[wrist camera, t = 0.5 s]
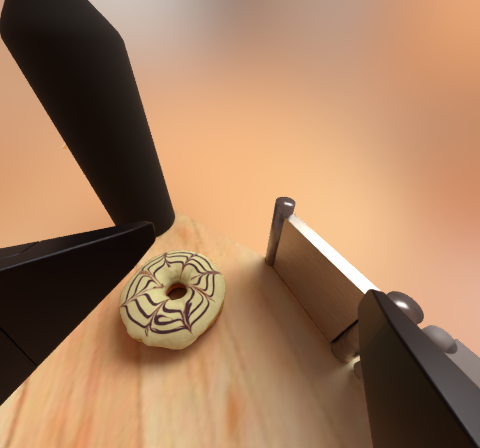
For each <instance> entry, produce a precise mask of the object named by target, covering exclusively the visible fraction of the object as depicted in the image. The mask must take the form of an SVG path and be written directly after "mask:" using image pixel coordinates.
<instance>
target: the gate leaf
mask: <svg viewBox="0 0 480 448" xmlns="http://www.w3.org/2000/svg"><path fill="white" fill-rule="evenodd" d="M421 330H422V331H423V332H424V333H425V334H426V335H427V336H428V337H429V338H430V339H431V340H432V341H433V342H434V343H435V344H436V345H437V346H438V347H439V348H440V349H441V350H442V351H443V352H444V353H445V354H446V355H447V356H448V357H449V358H450V359H451V360H452V361H453V362H454V363H455V364H456V365H457V366H458V367H459V368H460V369H461V370H462V371H463V372H464V373H465V374H466V375H467V376H468V377H469V378H470V379H471V380H472V381H473V382H474V383H475V384H476V385H477V386H478V387H479V388H480V358H479V357H478V356H477V355H475V354H474V353H473V352H472V351H470V350H469V349H468V348H467V347H466V346H465V345H464V344H462V343H461V342H460V341H459V340H458V339H455V340H454V339H453V338H452V337H451V336H450V335H449V334H448V333H447V332H446V331H445V330H443V329H441V328H439V327H437V326H432V325H430V326H427V327H426V328H423V329H421ZM353 368H354V372H355V374H356V376H357V377H358V378H359V379H360V380H361V381H362V382H363V376H362V370H361V363H360V361H358V362H356V363H355V364H354V367H353Z"/></svg>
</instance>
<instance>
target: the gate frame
mask: <svg viewBox="0 0 480 448" xmlns="http://www.w3.org/2000/svg"><path fill="white" fill-rule="evenodd" d="M294 207H295V201H294V200H292V199H291V198H288V197H280V198H277V199H276V203H275V208H274V214H273V219H272V225H271V231H270V236H269V242H268V248H267V253H266V259H265V260H266V263H267V264H268V265H270V266H273V268H274V269H275V270H276V272H277V273H278V274H279V276H280V277H281V278H282V280H283V281H284V282H285V284H286V285H287V286H288V288H289V289H290V290H291V292H292V293H293V294H294V296H295V297H296V298H297V300H298V301H299V302H300V304H301V305H302V306H303V308H304V309H305V310H306V312H307V313H308V314H309V316H310V317H311V318H312V320H313V321H314V322H315V324H316V325H317V326H318V328H319V329H320V330H321V332H322V333H323V334H324V336H325V337H326V338H327V340H328V341H329V342H331V341H332V343H331V349H332V352H333V354H334V355H335V356H336V357H337V358H338V359H339V360H341V361H343V362H349V361H351V360H353V359H355V358H356V357H358V356H360V355H359V336H358V305H359V303H360V301H361V299H362V298H363V296H364V295H365V293H366V292H367V290H369V289H375V290H378V291H380V290H379V289H377V288H376V287H375V286H374V285H373V284H372V283H371V282H370V281H369V280H367V279H366V278H365V277H364V276H363V275H362V274H360V273H359V272H358V271H357V270H356V269H355V268H354V267H353V266H352V265H351V264H350V263H348V262H347V261H346V260H345V259H344V258H343V257H342V256H341V255H340V254H338V253H337V252H336V251H335V250H334V249H333V248H332V247H331V246H330V245H328V244H327V243H326V242H325V241H324V240H323V239H322V238H321V237H320V236H318V235H317V234H316V233H315V232H314V231H313V230H312V229H311V228H309V227H308V226H307V225H306V224H305V223H304V222H303V221H302V220H301V219H299V218H298V217H297V216H296V215H295V214H293V211H294ZM387 296H388V297H389V298H390V299H391V300H392V301H393V302H394V303H395V304H396V305H397V306H398V307H399V308H400V309H401V310H402V311H403V312H404V313H405V314H406V315H407V316H408V317H409V318H410V319H411V320H412V321H413V322H414V323H415V324H416V325H417V324H419V323H421V322H422V321H423V318H424V314H423V311H422V309H421V308H420V306H419V305H418V304H417V303H416V302H415V301H414V300H413V299H412V298H410V297H409V296H408V295H406V294H404V293H401V292H396V291H394V292H389V293H388V294H387Z"/></svg>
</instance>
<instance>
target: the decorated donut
mask: <svg viewBox="0 0 480 448" xmlns="http://www.w3.org/2000/svg"><path fill="white" fill-rule="evenodd" d="M178 287H179V288H186V290H187V293H186V295H185V296H184V297H182V298H180V299H176V300H171V299H170V298H169V297H167V295H168V293H169V292H170V291H172V290H173V289H175V288H178ZM224 295H225V278H224V276H223V274H222V273H221V271H220V269H219V268H218V267H217V266H216V265H215V263H213V262H212V261H211V260H210V259H208V258H207V257H206V256H204V255H202V254H200V253H197V252H193V251H185V250H176V251H171V252H167V253H163V254H161V255H159V256H156V257H154V258H152V259H150V260H149V261H148V262H146V263H145V264H144V265H142V266H141V267H140V268H139V270H138V271H137V272H136V273H135V274H134V276H133V277H132V278H131V279H130V281H129V282H128V283H127V285H126V286H125V288H124V290H123V291H122V293H121V296H120V307H119V310H120V315H121V318H122V321H123V323H124V324H125V326H126V329H127V333H128V334H129V335H130V336H131V337H132V338H134V339H135V340H136V341H138V342H143V343H145V345H147V346H155V347H165V348H169V349H183V348H186V347H188V346H189V345H191V344H192V343H193V342H194V341H195V340H196V339H197V338H198V337H199V336H201V335H202V334H203V333H204V332H205V331H206V330H207V329H208V328H210V327H211V326H212V324H213V323H214V322H215V321H216V320H217V318H218V317H219V315H220V314H221V310H222V307H223V303H224Z"/></svg>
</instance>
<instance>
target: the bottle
mask: <svg viewBox="0 0 480 448" xmlns="http://www.w3.org/2000/svg"><path fill="white" fill-rule="evenodd" d="M0 34H1V38H2V40H3V41H4V43H5V45H6V46H7V48H8V50H9V51H10V53H11V55H12V56H13V58H14V59H15V61H16V63H17V64H18V66H19V68H20V69H21V71H22V73H23V74H24V76H25V78H26V79H27V81H28V82H29V84H30V86H31V87H32V89H33V91H34V92H35V94H36V95H37V97H38V99H39V100H40V102H41V104H42V105H43V107H44V109H45V110H46V112H47V114H48V115H49V117H50V118H51V120H52V122H53V123H54V125H55V127H56V128H57V130H58V132H59V133H60V135H61V136H62V138H63V140H64V141H65V143H66V145H67V146H68V148H69V150H70V151H71V153H72V155H73V156H74V158H75V160H76V161H77V163H78V164H79V166H80V168H81V169H82V171H83V173H84V174H85V175H86V177H87V179H88V181H89V182H90V184H91V186H92V187H93V189H94V191H95V192H96V194H97V196H98V197H99V199H100V200H101V202H102V204H103V205H104V207H105V209H106V210H107V212H108V214H109V215H110V217H111V219H112V220H113V222H114V223H115V225H116V226H119V225H124V224H129V223H134V222H139V221H147V222H151V223H152V224H153V225H154V230H155V237H156V236H158V235H160V234H162V233H164V232H165V231H167V230H168V229H169V228H170V227H171V226H172V224H173V222H174V220H175V213H174V210H173V207H172V203H171V200H170V197H169V194H168V190H167V186H166V183H165V180H164V176H163V173H162V169H161V166H160V163H159V159H158V156H157V152H156V149H155V146H154V142H153V139H152V135H151V132H150V129H149V126H148V122H147V119H146V115H145V112H144V109H143V105H142V102H141V99H140V95H139V91H138V88H137V84H136V81H135V78H134V74H133V71H132V67H131V64H130V61H129V58H128V54H127V50H126V48H125V44H124V41H123V39H122V38H121V36H120V34H119V33H118V31H117V30H116V29H115V28H114V27H113V26H112V25H111V24H110V23H109V22H108V20H106V18H105V17H104V16H103V15H102V14H101V13H100V12H99V11H98V10H97V9H96V8H95V7H94V6H93V5H92V4H91V3H90V2H89V1H88V0H5V1H4V5H3V9H2V12H1V18H0Z"/></svg>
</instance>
